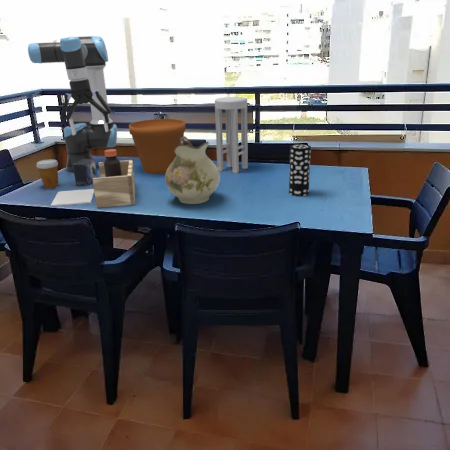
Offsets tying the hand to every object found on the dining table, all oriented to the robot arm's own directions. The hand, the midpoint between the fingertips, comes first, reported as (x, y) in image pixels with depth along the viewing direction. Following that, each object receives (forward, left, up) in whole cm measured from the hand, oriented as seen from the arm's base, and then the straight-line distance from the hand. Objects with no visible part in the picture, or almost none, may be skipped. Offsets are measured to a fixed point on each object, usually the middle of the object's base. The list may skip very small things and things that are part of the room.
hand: (90, 132), depth 182 cm
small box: (-21, -8, -27) cm, 35 cm away
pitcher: (+16, +39, -27) cm, 51 cm away
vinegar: (+3, +7, -27) cm, 28 cm away
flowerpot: (-36, +28, -27) cm, 53 cm away
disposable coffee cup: (-19, -24, -27) cm, 41 cm away
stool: (-25, +64, -27) cm, 74 cm away
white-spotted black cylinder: (+20, +84, -27) cm, 91 cm away
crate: (+3, +8, -27) cm, 28 cm away
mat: (+1, -11, -27) cm, 29 cm away
